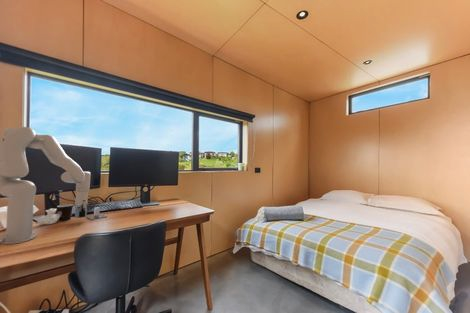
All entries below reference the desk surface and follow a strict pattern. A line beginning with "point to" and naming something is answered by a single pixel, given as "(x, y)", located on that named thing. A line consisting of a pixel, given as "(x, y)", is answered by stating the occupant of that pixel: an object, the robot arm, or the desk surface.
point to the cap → (78, 212)
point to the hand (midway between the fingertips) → (80, 215)
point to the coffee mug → (64, 211)
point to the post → (96, 214)
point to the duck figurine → (49, 217)
